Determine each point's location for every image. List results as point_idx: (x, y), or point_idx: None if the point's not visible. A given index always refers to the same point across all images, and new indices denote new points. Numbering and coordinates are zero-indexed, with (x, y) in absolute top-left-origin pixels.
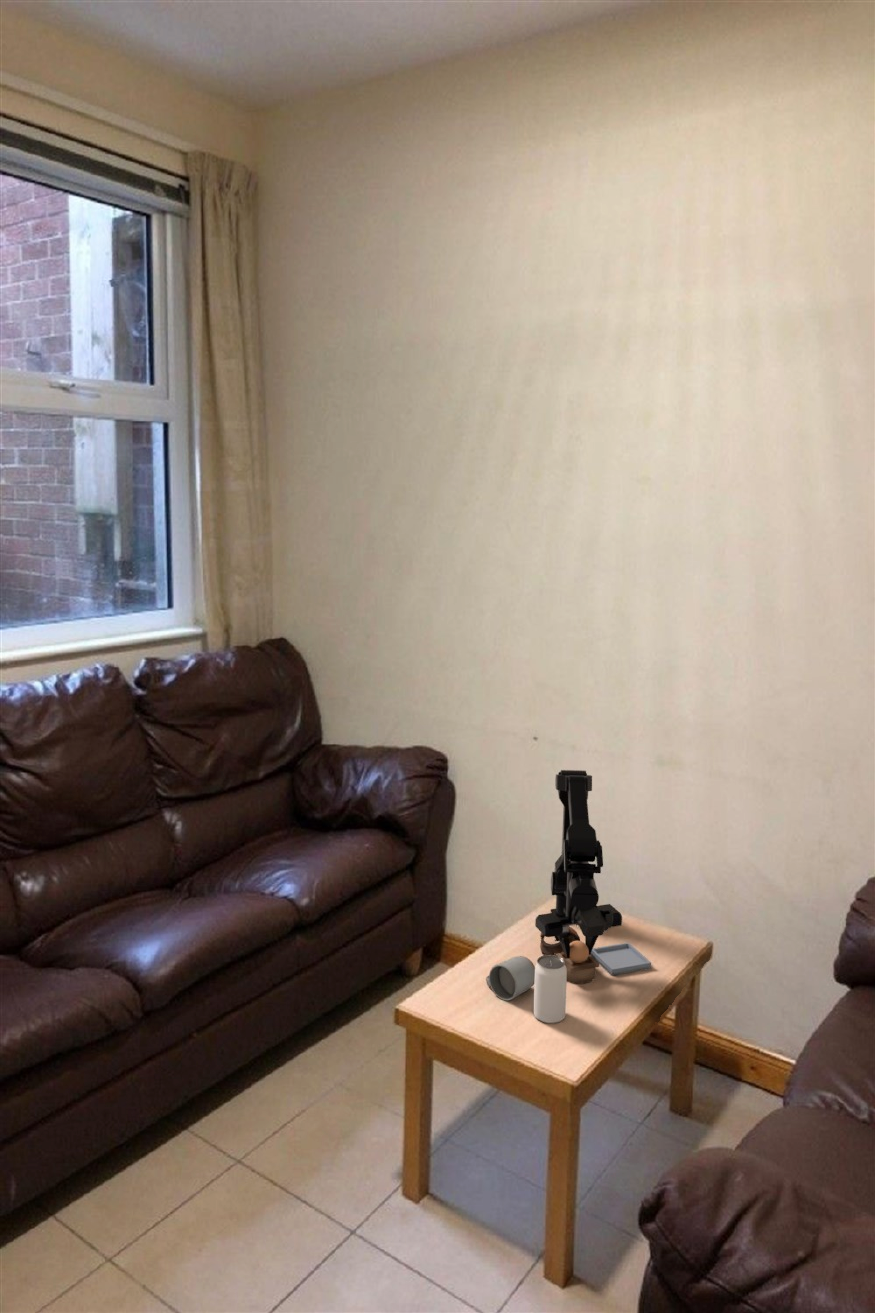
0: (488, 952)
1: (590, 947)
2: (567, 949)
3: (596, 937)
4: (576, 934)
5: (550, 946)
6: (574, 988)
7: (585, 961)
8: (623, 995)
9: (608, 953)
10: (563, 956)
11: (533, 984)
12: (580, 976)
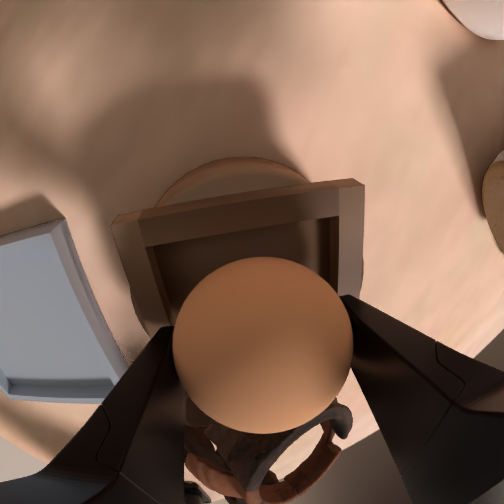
0: None
1: (154, 368)
2: (400, 333)
3: (82, 446)
4: (199, 466)
5: (340, 407)
6: (309, 120)
7: None
8: (65, 24)
9: (67, 372)
10: None
11: (500, 157)
12: (269, 168)
